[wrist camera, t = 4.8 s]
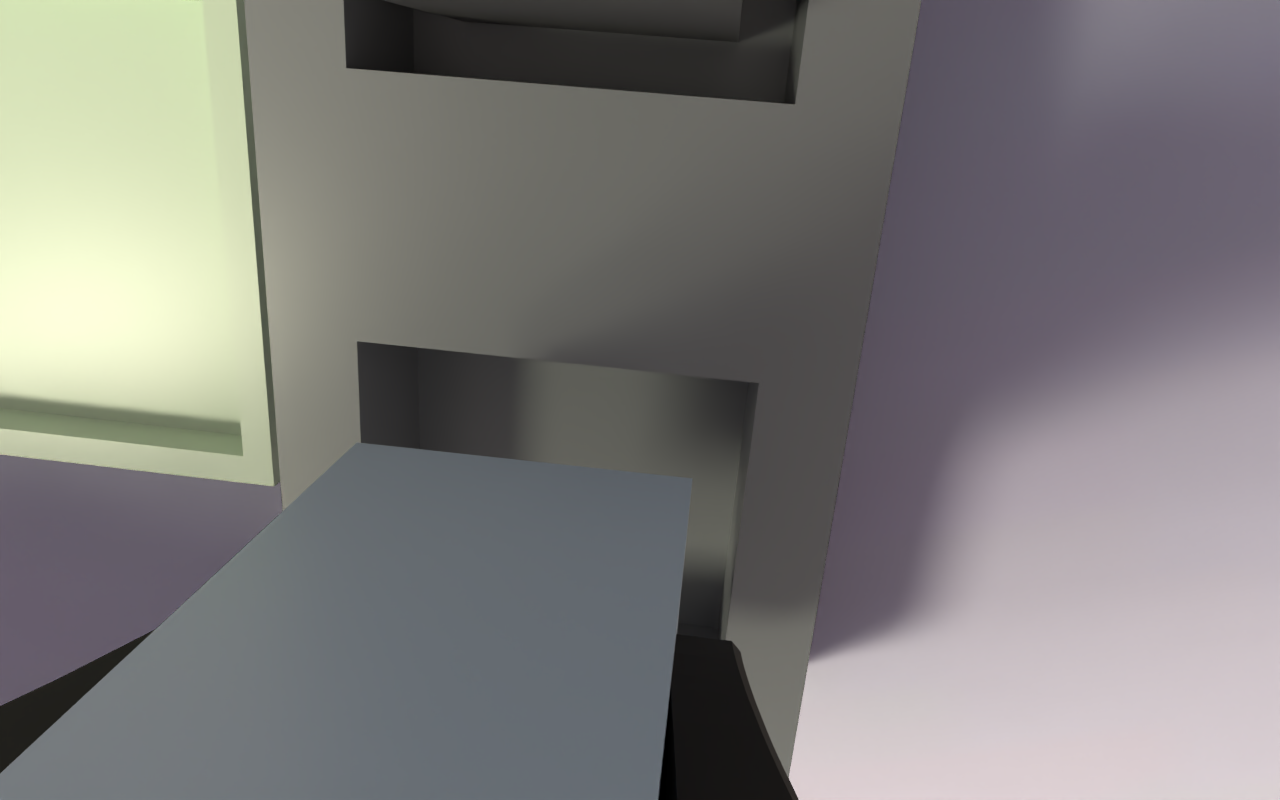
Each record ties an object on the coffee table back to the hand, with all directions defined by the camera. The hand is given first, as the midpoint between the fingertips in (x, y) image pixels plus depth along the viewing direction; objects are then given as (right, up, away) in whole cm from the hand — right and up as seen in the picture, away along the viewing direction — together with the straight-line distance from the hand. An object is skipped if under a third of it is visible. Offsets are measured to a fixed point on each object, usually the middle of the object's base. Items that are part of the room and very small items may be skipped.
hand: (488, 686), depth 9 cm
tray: (-8, +6, +5) cm, 12 cm away
